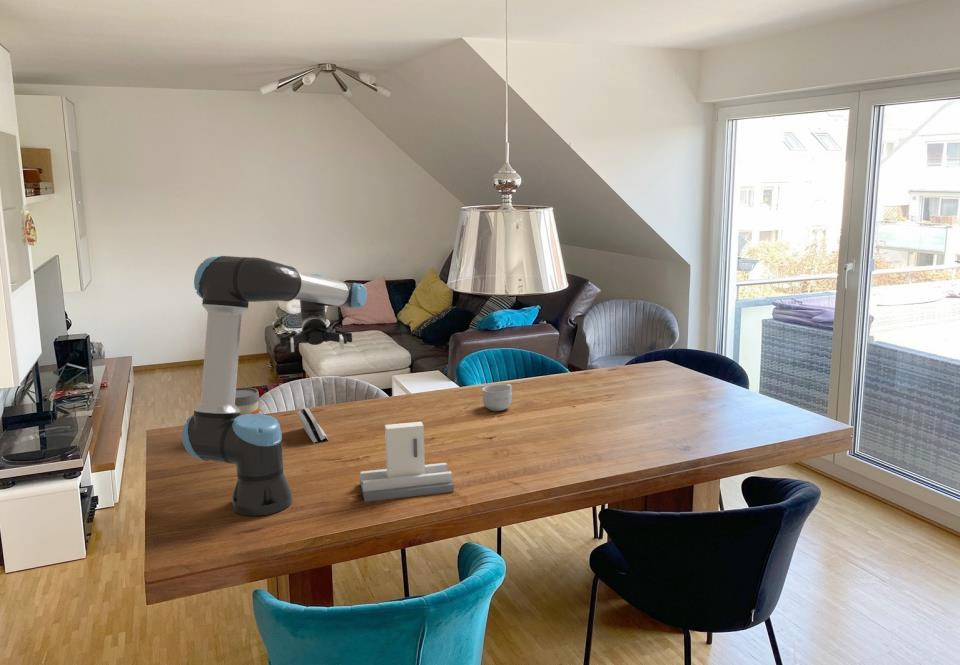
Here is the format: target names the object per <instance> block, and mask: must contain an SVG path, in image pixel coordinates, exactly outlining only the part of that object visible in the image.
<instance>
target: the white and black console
mask: <svg viewBox="0 0 960 665" xmlns="http://www.w3.org/2000/svg"><path fill="white" fill-rule="evenodd" d="M296 414H297V416H298V419H299V421H300V423H301V425H302V427H303V429H304V430H305V433H306V434H307V436H308V437H309V438H310V440H311V441H312V443H313V442H317V443H318V441H323V440H324V439H325V440H326V439H327V440H330V439H329V436H327V434H326V433H325V431H324V430H323V428H322V427H321V426H320V425H319V424H318V422H317V419H316V418H315V417H314V415H313V413H312V412H311V410H310V409H309V408H308V407H304V408H302V409H301V410H300V409H299V410H298V411H296ZM327 440H326V441H327Z"/></svg>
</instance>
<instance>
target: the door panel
mask: <svg viewBox="0 0 960 665" xmlns="http://www.w3.org/2000/svg"><path fill="white" fill-rule="evenodd" d="M424 430H425V426H424V424H423V422H422V421H414V422H402V423H401V422H400V423H393V424H392V423H389V424H384V434H385V435H384V437H385V438H384V440H385V460H386V462H385V463H386V465H385V466H386V469H387V478H392V477H402V476H411V475H420V474H425V465H426V463H425V460H426V459H425V433H424V432H425V431H424Z"/></svg>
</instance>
